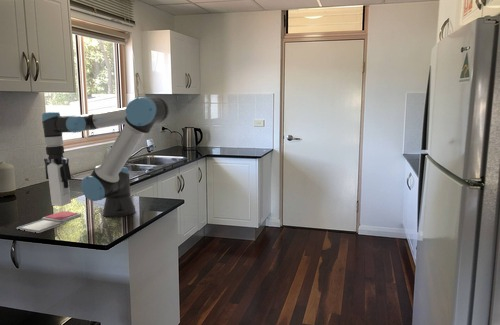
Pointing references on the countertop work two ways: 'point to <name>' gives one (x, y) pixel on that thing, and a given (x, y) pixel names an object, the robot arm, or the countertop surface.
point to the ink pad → (62, 216)
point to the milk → (57, 185)
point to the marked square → (41, 225)
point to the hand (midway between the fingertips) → (60, 194)
